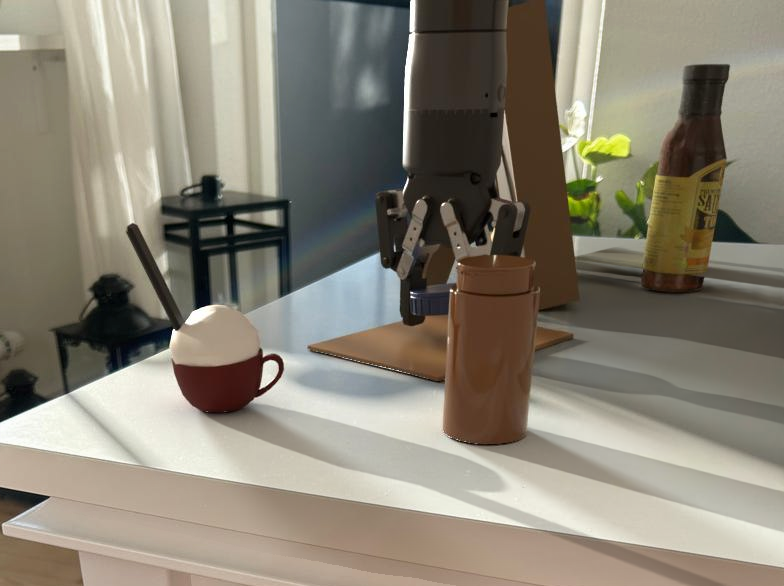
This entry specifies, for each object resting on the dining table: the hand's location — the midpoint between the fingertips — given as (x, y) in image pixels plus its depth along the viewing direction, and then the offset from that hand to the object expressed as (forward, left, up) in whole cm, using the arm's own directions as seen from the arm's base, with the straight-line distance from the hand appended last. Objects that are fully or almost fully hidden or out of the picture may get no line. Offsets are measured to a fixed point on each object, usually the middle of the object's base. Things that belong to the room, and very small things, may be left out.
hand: (443, 329), depth 85 cm
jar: (+16, +16, -1) cm, 23 cm away
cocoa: (+24, -1, -1) cm, 24 cm away
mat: (0, 0, -1) cm, 1 cm away
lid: (0, 0, +3) cm, 3 cm away
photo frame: (-21, -11, -1) cm, 24 cm away
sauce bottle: (-33, +3, -1) cm, 33 cm away
